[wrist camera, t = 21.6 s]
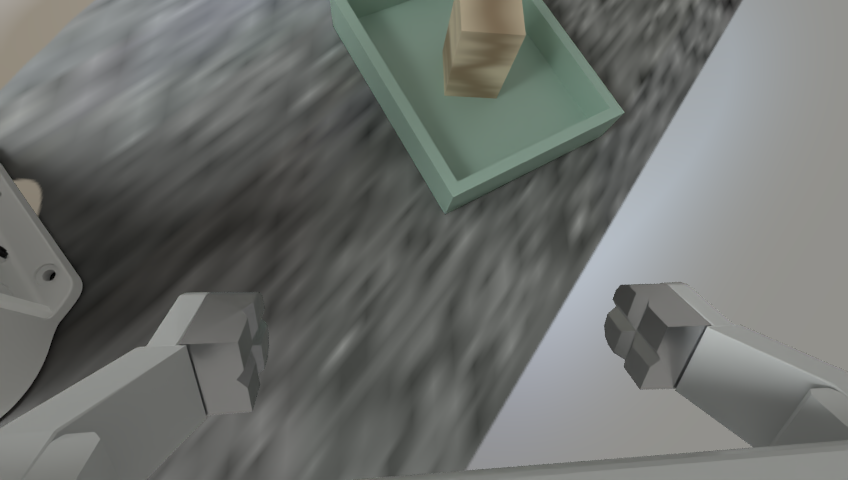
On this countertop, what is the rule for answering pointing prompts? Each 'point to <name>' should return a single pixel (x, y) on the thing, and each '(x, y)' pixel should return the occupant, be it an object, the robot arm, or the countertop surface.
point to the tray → (470, 116)
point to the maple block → (481, 46)
